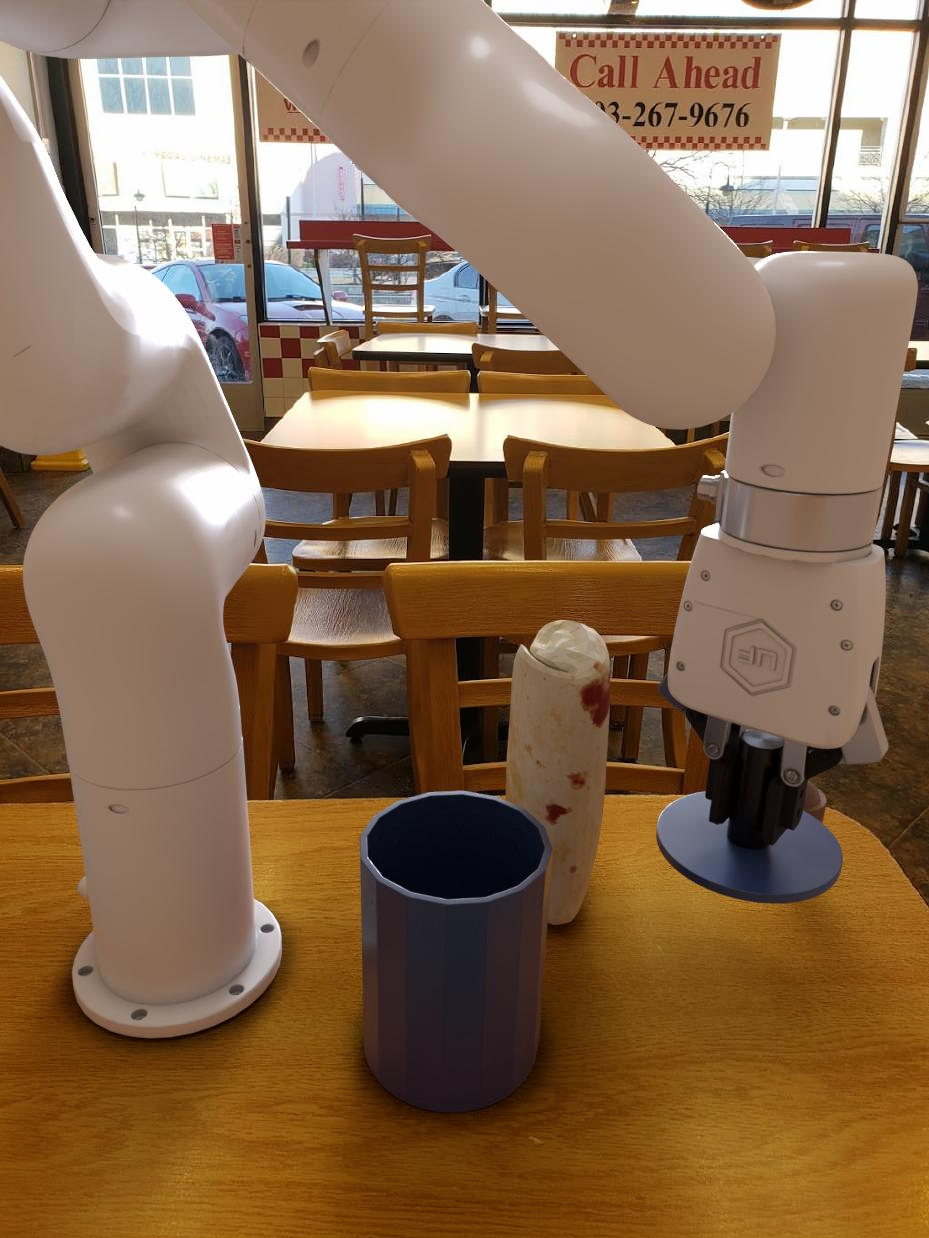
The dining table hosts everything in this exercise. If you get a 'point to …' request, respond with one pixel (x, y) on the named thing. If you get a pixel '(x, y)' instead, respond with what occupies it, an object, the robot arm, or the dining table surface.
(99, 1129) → the dining table surface
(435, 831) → the pot
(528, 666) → the food model
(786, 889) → the lid
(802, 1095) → the dining table surface
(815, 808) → the mushroom
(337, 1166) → the dining table surface
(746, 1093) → the dining table surface
